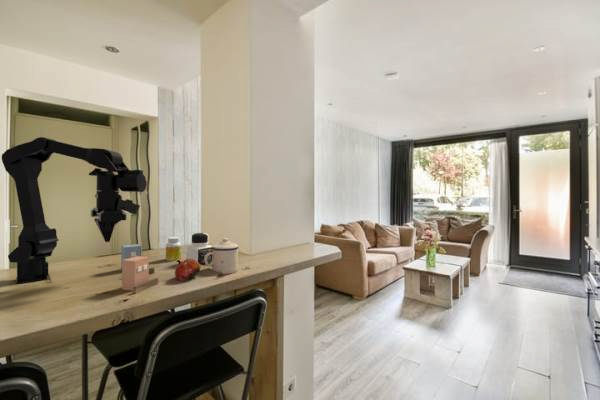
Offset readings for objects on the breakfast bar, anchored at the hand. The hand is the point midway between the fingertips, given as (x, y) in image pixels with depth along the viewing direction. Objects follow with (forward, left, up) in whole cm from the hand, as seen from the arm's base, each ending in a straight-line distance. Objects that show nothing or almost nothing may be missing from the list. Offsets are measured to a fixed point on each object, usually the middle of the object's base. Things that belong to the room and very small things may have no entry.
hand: (107, 241), depth 85 cm
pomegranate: (+18, -18, -12) cm, 28 cm away
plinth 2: (+8, 0, -12) cm, 14 cm away
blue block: (+8, +4, -11) cm, 14 cm away
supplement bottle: (+24, +9, -12) cm, 28 cm away
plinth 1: (+3, -15, -12) cm, 19 cm away
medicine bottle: (+30, -1, -12) cm, 32 cm away
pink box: (+4, -16, -11) cm, 20 cm away
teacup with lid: (+31, -15, -12) cm, 36 cm away
